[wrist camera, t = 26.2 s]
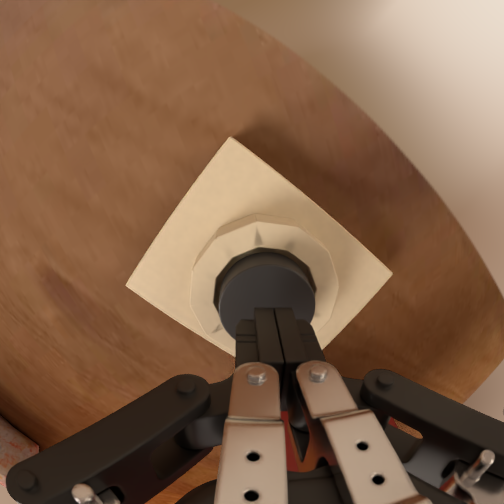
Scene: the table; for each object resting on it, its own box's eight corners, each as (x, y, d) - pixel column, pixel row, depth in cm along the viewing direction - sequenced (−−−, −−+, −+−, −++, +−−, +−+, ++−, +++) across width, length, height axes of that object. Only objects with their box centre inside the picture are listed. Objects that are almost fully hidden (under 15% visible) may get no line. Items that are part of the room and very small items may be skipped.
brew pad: (379, 261, 19) (407, 286, 15) (281, 365, 21) (288, 403, 17) (231, 137, 16) (228, 133, 12) (135, 271, 19) (113, 300, 15)
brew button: (325, 285, 15) (335, 300, 14) (270, 344, 16) (273, 363, 15) (257, 233, 14) (260, 244, 13) (202, 300, 15) (199, 318, 14)
